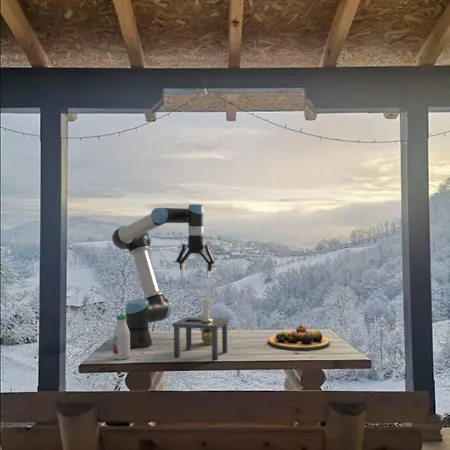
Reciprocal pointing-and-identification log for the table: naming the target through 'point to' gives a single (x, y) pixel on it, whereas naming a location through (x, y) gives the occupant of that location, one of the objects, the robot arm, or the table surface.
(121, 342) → the milk bottle
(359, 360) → the table surface
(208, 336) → the brass hanging weight
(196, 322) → the shelf
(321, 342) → the wooden plate with food
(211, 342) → the plant pot
